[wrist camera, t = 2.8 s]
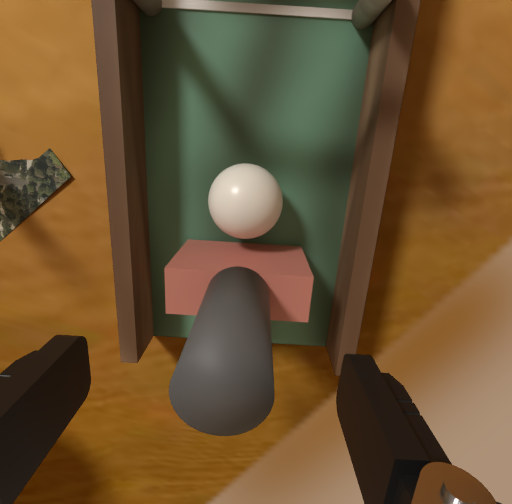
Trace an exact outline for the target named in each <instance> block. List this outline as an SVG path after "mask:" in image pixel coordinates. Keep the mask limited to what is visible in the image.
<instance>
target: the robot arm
mask: <svg viewBox="0 0 512 504" xmlns="http://www.w3.org/2000/svg"><path fill="white" fill-rule="evenodd" d="M90 384H91V374H90V365H89V355H88V346H87V340H86V338H85V337H83V336H70V335H56V336H54V337H53V338H52V339H51V340H50V341H49V342H47V343H46V344H45V345H44V346H43V347H42V348H41V349H40V350H39V351H33V352H31V353H29V354H27V355H26V356H24V357H22V358H20V359H18V360H16V361H15V362H13V363H12V364H11V365H10V366H9V367H8V368H6V369H5V370H4V371H3V372H2V373H1V374H0V504H13V502H14V501H15V500H16V498H17V497H18V495H19V494H20V492H21V491H22V490H23V488H24V487H25V485H26V484H27V482H28V481H29V479H30V478H31V477H32V475H33V474H34V472H35V471H36V469H37V468H38V467H39V465H40V464H41V462H42V461H43V459H44V458H45V457H46V455H47V454H48V452H49V451H50V449H51V448H52V447H53V445H54V444H55V442H56V441H57V439H58V438H59V437H60V435H61V434H62V432H63V431H64V429H65V428H66V426H67V425H68V424H69V422H70V421H71V419H72V418H73V416H74V415H75V414H76V412H77V411H78V409H79V408H80V406H81V405H82V404H83V402H84V401H85V399H86V397H87V395H88V392H89V389H90ZM336 403H337V413H338V417H339V421H340V424H341V427H342V430H343V434H344V437H345V441H346V444H347V447H348V450H349V454H350V457H351V460H352V464H353V467H354V470H355V474H356V477H357V480H358V484H359V487H360V490H361V493H362V496H363V500H364V503H365V504H501V503H498V502H496V501H495V499H494V498H493V496H492V495H491V493H490V492H489V491H488V490H487V489H486V488H485V487H484V485H483V484H482V483H481V482H479V481H478V480H477V479H476V478H475V477H473V476H472V475H470V474H469V473H468V472H466V471H464V470H463V469H461V468H458V467H456V466H454V465H452V464H451V462H450V461H449V459H448V458H447V456H446V454H445V452H444V451H443V449H442V448H441V446H440V444H439V443H438V441H437V440H436V438H435V436H434V435H433V433H432V432H431V430H430V428H429V427H428V425H427V424H426V422H425V420H424V419H423V417H422V416H420V413H419V411H418V409H417V407H416V406H415V404H414V403H412V399H411V398H410V396H409V394H408V393H407V391H406V390H405V388H404V386H403V385H401V383H399V382H398V381H397V380H396V379H395V378H394V377H393V376H391V375H390V374H389V373H381V372H380V370H379V368H378V366H377V365H376V363H375V361H374V359H373V358H372V356H371V355H361V354H345V355H344V357H343V362H342V367H341V373H340V379H339V384H338V390H337V397H336Z"/></svg>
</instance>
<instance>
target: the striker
mask: <svg viewBox="0 0 512 504" xmlns="http://www.w3.org/2000/svg"><path fill="white" fill-rule="evenodd" d="M164 271H165V305H166V314H181V315H196V318H195V320H194V323H193V325H192V328H191V330H190V333H189V335H188V338H187V340H186V343H185V345H184V348H183V351H182V353H181V356H180V358H179V361H178V363H177V366H176V368H175V371H174V373H173V376H172V378H171V381H170V386H169V396H170V400H171V404H172V406H173V408H174V410H175V412H176V413H177V414H178V416H179V417H180V418H181V419H182V420H183V421H184V422H185V423H187V424H188V425H189V426H191V427H193V428H194V429H196V430H198V431H201V432H204V433H207V434H211V435H217V436H232V435H238V434H241V433H245V432H247V431H249V430H252V429H253V428H255V427H257V426H258V425H259V424H260V423H262V422H263V421H264V420H265V419H266V417H267V416H268V414H269V413H270V411H271V409H272V406H273V402H274V377H273V357H272V338H271V320H277V321H293V322H308V320H309V312H310V303H311V295H312V287H313V279H314V276H313V274H312V272H311V269H310V267H309V264H308V262H307V259H306V257H305V254H304V252H303V250H302V247H301V246H287V245H271V244H255V243H239V242H223V241H207V240H191V239H188V240H187V241H186V242H185V244H184V245H183V246H182V247H181V248H180V250H179V251H178V252H177V253H176V254H175V256H174V257H173V258H172V259H171V260H170V262H169V263H168V264H167V265H166V266H165V268H164Z"/></svg>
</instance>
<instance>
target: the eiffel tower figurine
mask: <svg viewBox="0 0 512 504" xmlns="http://www.w3.org/2000/svg"><path fill="white" fill-rule="evenodd" d="M70 177H71V176H70V174H69V173H68V172H67V170H66V169H65V168H64V166H63V165H62V164H61V162H60V161H59V160H58V158H57V157H56V156H55V154H54V153H53V152H52V150H51V149H50V148H49V149H48V150H47V151H46V152H45V153H44V154H43V155H41V156H40V157H39V158H37V159H34V160H13V161H5V160H0V241H1V240H2V239H3V238H4V237H6V236H7V235H8V234H9V233H10V232H11V231H12V230H13V229H14V228H15V227H17V226H18V225H19V224H20V223H21V222H22V221H23V220H24V219H25V218H26V217H28V216H29V215H30V214H31V213H32V212H33V211H34V210H35V209H36V208H37V207H38V206H39V205H40V204H42V203H43V202H44V201H45V200H46V199H47V198H48V197H49V196H50V195H51V194H52V193H53V192H54V191H55V190H57V189H58V188H59V187H60V186H61V185H62V184H63V183H64V182H66V181H67V180H68V179H69V178H70Z"/></svg>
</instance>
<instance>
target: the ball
mask: <svg viewBox="0 0 512 504" xmlns="http://www.w3.org/2000/svg"><path fill="white" fill-rule="evenodd" d="M282 205H283V198H282V192H281V188H280V186H279V184H278V182H277V180H276V179H275V178H274V176H273V175H272V174H271V173H270V172H268V171H267V170H266V169H264V168H262V167H260V166H258V165H254V164H248V163H242V164H236V165H233V166H230V167H228V168H227V169H225V170H223V171H222V172H221V173H220V174H219V175H218V176H217V177H216V179H215V180H214V182H213V183H212V185H211V188H210V191H209V196H208V206H209V211H210V214H211V216H212V219H213V220H214V222H215V224H216V225H217V226H218V227H219V228H220V229H221V230H222V231H224V232H225V233H226V234H228V235H230V236H233V237H236V238H241V239H250V238H255V237H258V236H261V235H263V234H265V233H266V232H268V231H269V230H270V229H271V228H272V227H273V226H274V225H275V224H276V222H277V220H278V219H279V217H280V214H281V211H282Z"/></svg>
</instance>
